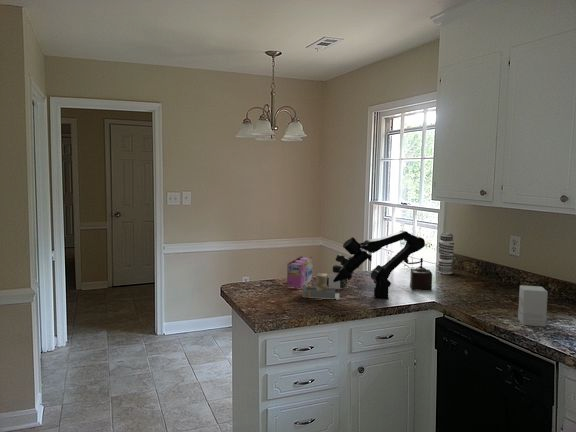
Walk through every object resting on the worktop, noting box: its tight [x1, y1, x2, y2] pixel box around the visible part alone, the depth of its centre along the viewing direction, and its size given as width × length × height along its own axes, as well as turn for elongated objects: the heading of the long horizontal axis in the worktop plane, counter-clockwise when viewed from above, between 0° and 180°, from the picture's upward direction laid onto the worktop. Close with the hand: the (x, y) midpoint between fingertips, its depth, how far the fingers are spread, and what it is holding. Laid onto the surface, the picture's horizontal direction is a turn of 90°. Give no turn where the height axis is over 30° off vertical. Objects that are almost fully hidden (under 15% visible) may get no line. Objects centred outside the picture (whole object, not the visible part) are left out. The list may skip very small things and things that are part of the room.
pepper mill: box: [403, 256, 433, 291], centre depth 253 cm, size 16×11×18 cm
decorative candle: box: [437, 232, 455, 275], centre depth 291 cm, size 9×9×25 cm
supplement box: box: [517, 285, 549, 328], centre depth 196 cm, size 9×9×15 cm
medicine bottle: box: [328, 264, 348, 290], centre depth 251 cm, size 7×7×12 cm
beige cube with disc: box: [315, 272, 329, 291], centre depth 232 cm, size 6×6×10 cm
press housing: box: [301, 281, 340, 301], centre depth 233 cm, size 18×10×7 cm, turn 83°
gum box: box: [286, 256, 314, 289], centre depth 258 cm, size 24×8×14 cm, turn 160°
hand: (333, 281), depth 232 cm, fingers closed
